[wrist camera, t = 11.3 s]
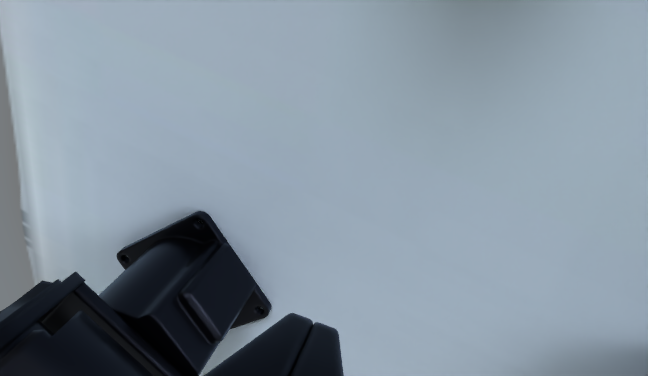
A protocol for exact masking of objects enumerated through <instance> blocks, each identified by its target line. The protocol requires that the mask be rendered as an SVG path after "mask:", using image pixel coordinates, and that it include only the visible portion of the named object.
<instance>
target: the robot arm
mask: <svg viewBox="0 0 648 376" xmlns="http://www.w3.org/2000/svg"><path fill="white" fill-rule="evenodd" d="M198 219H199V220H201V221H202V222H203V224H201V223H200V222H199V221H198ZM117 259H118V261H119V262H120V264H121V265H122V266H123V268H124V269H125V271H124V272H123V273H122V274H121V275H120V276H119V277H118V278H117V279H116V280H115V281H113V282H112V283H111V284H110V285H109V286H108V287H107V288H106V289H105V290H104V291H103V292H102V293H101V294H100V295H99V296H98V295H97V294H96V293H95V292H94V291H93V290H92V289H91V288H90V287H88V286H87V285H86V284H85V283H84V281H85V280H84V279H83V278H82V277H81V276H80V275H79V274H78V273H77V272H74V273H73V274H72V275H70V276H69V277H68V278H66V279H65V280H64V281H63V282H61V281H60V280H59V279H58V280H56V281H55V282H53V283H51V282H47V281H41V282H40V283H39V284H37V285H36V286H35V287H34V288H33V289H31V290H30V291H29V292H27V293H26V294H25V295H23V296H22V297H21V298H19V299H18V300H17V301H15V302H14V303H13V304H11V305H10V306H8V307H7V308H5V309H4V310H2V311H0V376H199V374H200V373H201V371H202V370H203V368H204V366H205V365H206V363H207V362H208V360H209V359H210V357H211V355H212V354H213V352H214V351H215V349H216V348H217V346H218V344H219V343H220V341H222V340H223V338H224V337H225V335H226V334H227V332H228V331H229V329H232V328H235V327H238V326H241V325H244V324H247V323H250V322H253V321H256V320H259V319H262V318H265V317H267V316H268V314H269V312H270V310H271V304H270V302H269V301H268V299H267V298H266V296H265V295H264V293H263V292H262V291H261V289H260V288H259V286H258V285H257V283H256V282H255V280H254V279H253V278H252V276H251V275H250V273H249V272H248V270H247V269H246V268H245V266H244V265H243V263H242V262H241V260H240V259H239V257H238V256H237V255H236V253H235V252H234V250H233V249H232V247H231V246H230V245H229V243H228V242H227V240H226V239H225V237H224V236H223V234H222V233H221V232H220V230H219V229H218V227H217V226H216V224H215V223H214V222H213V220H212V219H211V217H210V216H209V215H208V214H207V213H205V212H203V211H198V212H195V213H193V214H191V215H189V216H187V217H185V218H183V219H181V220H179V221H177V222H175V223H173V224H171V225H169V226H167V227H165V228H163V229H161V230H159V231H156V232H154V233H152V234H150V235H148V236H146V237H144V238H142V239H140V240H138V241H136V242H134V243H132V244H130V245H128V246H126V247H124V248H123V249H122V250H121V251H119V252H118V253H117ZM259 306H260V307H262V308H263V309H261V308H260V307H259ZM204 376H344V375H343V367H342V359H341V350H340V342H339V334H338V331H337V330H336V329H334V328H332V327H329V326H327V325H324V324H321V323H318V322H317V323H315V324H314V325H313V322H312V320H310V319H308V318H305V317H303V316H300V315H297V314H295V313H290V314H288V315H287V316H285V317H284V318H282V319H281V320H280V321H278V322H277V323H276V324H274V325H273V326H272V327H270V328H269V329H267V330H266V331H265V332H263V333H262V334H261V335H259V336H258V337H256V338H255V339H254V340H252V341H251V342H250V343H248V344H247V345H245V346H244V347H243V348H241V349H240V350H239V351H237V352H236V353H234V354H233V355H232V356H230V357H229V358H228V359H226V360H225V361H223V362H222V363H221V364H219V365H218V366H217V367H215V368H214V369H212V370H211V371H210V372H208V373H207V374H206V375H204Z"/></svg>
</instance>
